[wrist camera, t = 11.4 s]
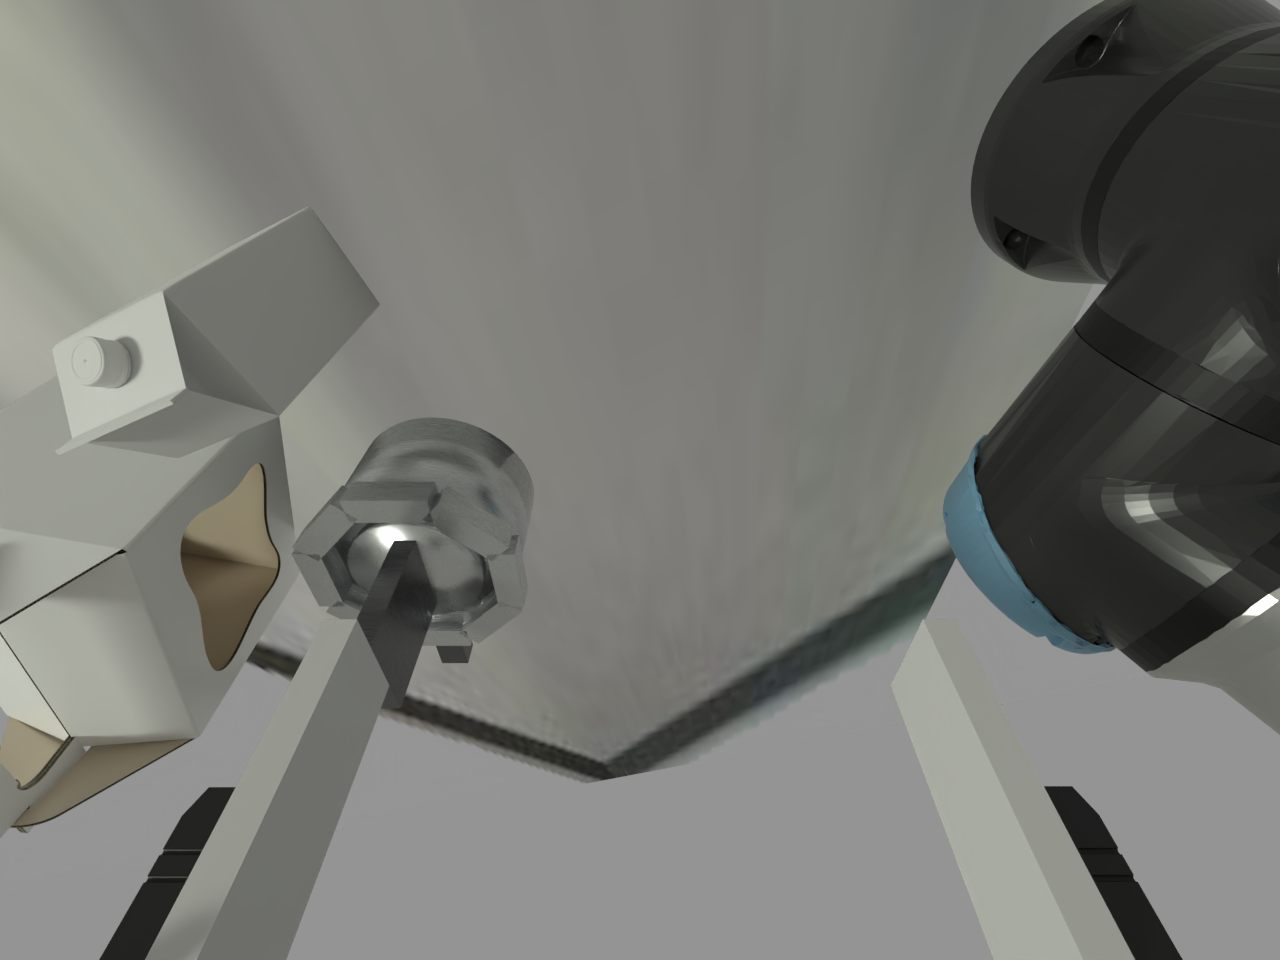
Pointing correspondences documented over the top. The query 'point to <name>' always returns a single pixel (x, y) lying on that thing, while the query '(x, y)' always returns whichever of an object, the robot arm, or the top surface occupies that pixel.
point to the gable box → (125, 598)
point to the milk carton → (214, 344)
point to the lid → (409, 591)
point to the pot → (430, 521)
